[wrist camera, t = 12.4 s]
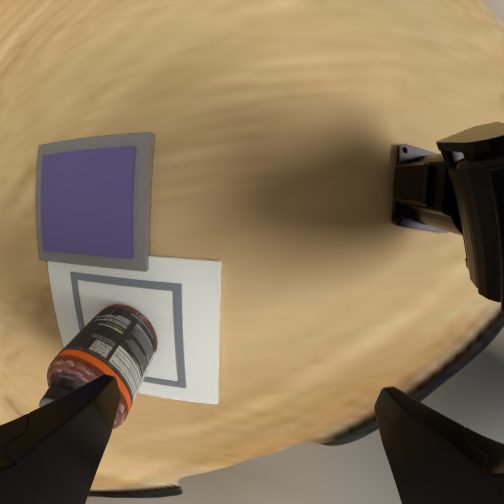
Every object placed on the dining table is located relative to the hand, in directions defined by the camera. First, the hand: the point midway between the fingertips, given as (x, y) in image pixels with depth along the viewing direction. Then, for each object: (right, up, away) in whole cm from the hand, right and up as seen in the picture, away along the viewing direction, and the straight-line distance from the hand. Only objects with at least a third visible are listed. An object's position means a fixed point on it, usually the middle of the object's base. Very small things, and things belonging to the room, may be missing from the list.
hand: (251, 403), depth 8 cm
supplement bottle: (-11, -2, +13) cm, 17 cm away
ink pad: (-13, +9, +11) cm, 19 cm away
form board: (-11, -2, +14) cm, 17 cm away
